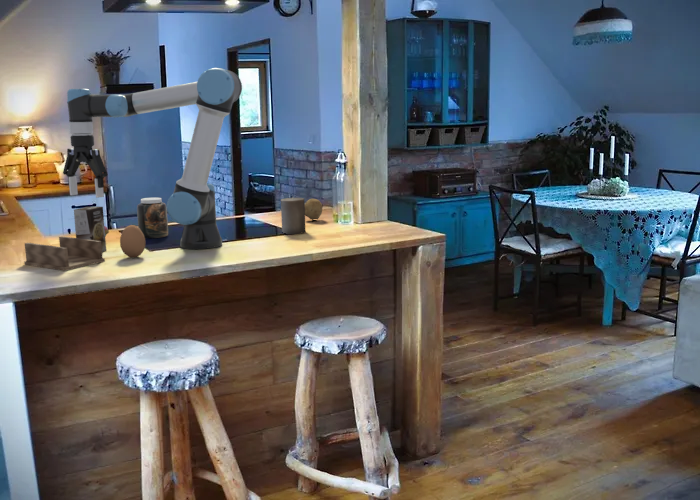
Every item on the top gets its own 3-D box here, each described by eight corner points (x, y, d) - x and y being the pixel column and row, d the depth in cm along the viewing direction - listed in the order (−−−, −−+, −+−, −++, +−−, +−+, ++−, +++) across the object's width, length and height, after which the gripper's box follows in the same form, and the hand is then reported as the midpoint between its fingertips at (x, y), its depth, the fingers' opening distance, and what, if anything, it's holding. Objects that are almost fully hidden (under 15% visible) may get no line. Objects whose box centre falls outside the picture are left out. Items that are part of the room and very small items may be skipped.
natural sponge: (300, 222, 313) (300, 199, 311) (305, 219, 322) (304, 197, 320) (320, 222, 312) (320, 199, 310) (324, 219, 320) (324, 197, 318)
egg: (122, 261, 237) (120, 227, 235) (119, 256, 244) (117, 224, 242) (148, 258, 240) (145, 225, 238) (144, 254, 247) (142, 222, 245)
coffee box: (93, 255, 246) (89, 209, 243) (76, 255, 248) (72, 209, 244) (107, 250, 255) (103, 206, 252) (91, 250, 256) (87, 205, 253)
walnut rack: (104, 261, 237) (103, 240, 235) (63, 270, 223) (61, 249, 222) (65, 255, 247) (63, 235, 245) (24, 264, 233) (22, 243, 232)
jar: (132, 237, 281) (129, 200, 278) (150, 232, 291) (148, 196, 288) (156, 239, 276) (154, 201, 273) (174, 234, 287) (172, 197, 284)
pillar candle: (310, 231, 289) (309, 195, 286) (296, 235, 281) (294, 197, 278) (291, 230, 294) (290, 194, 291) (276, 233, 286) (275, 196, 283)
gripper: (115, 134, 240) (119, 197, 244) (67, 133, 253) (72, 193, 257) (97, 135, 234) (102, 199, 238) (49, 134, 246) (54, 195, 251)
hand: (86, 196), depth 247 cm, fingers open, 13 cm apart
